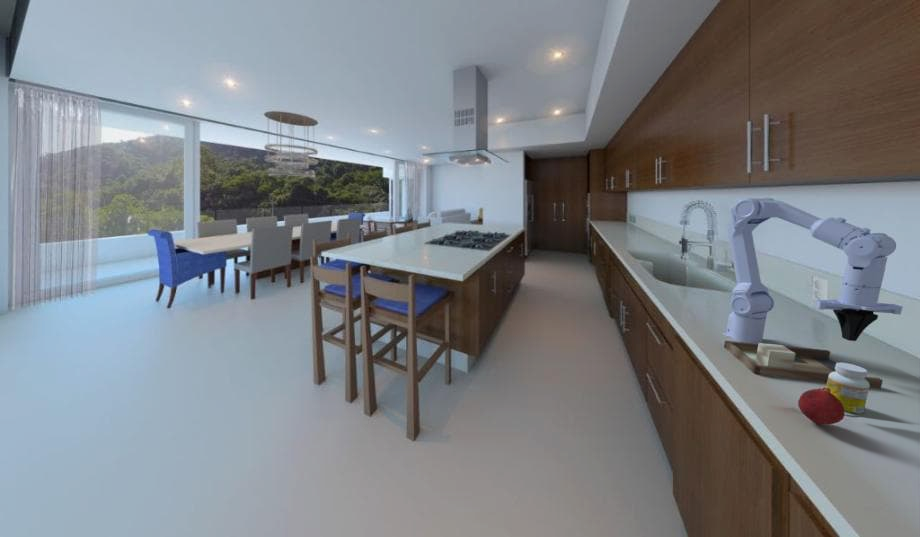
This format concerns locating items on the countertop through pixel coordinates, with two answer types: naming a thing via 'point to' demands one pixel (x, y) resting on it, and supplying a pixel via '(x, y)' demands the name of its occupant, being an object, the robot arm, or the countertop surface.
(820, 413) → the red oval lump
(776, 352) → the cream cube
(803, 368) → the wooden tray
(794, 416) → the countertop surface
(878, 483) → the countertop surface
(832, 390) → the supplement bottle
